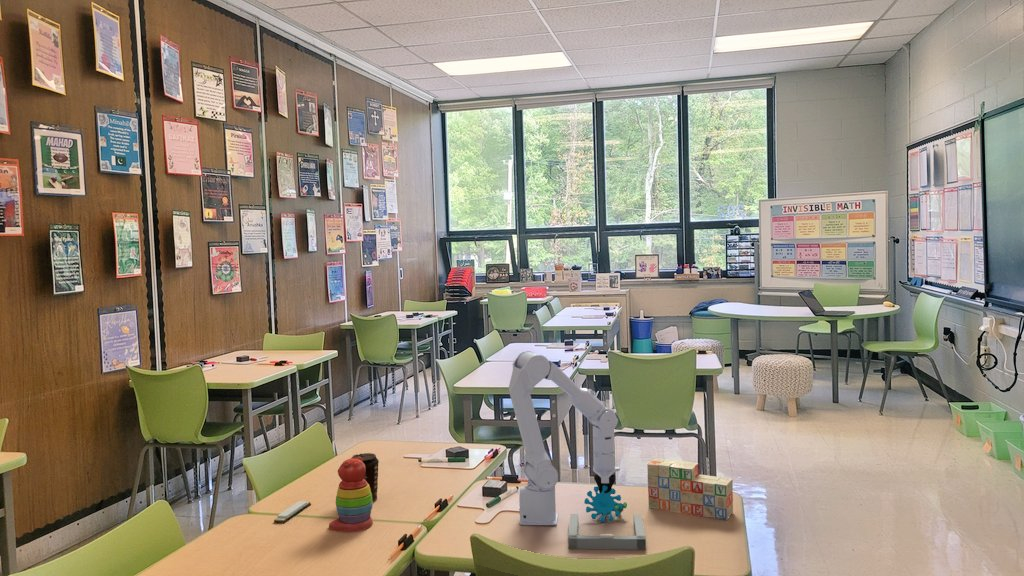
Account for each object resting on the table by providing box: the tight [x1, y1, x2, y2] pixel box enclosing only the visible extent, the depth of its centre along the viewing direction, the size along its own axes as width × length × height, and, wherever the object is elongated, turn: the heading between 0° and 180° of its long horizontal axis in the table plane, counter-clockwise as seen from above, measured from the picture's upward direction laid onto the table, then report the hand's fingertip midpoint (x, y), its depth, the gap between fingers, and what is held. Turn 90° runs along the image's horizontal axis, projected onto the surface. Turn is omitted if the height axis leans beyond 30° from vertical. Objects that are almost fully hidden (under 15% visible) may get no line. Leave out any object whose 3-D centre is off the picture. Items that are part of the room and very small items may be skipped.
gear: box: [583, 485, 628, 524], centre depth 193 cm, size 11×6×10 cm
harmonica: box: [273, 500, 312, 524], centre depth 203 cm, size 15×3×2 cm, turn 167°
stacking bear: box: [328, 457, 374, 533], centre depth 192 cm, size 11×10×18 cm
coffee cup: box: [351, 452, 380, 503], centre depth 211 cm, size 9×8×13 cm
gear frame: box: [567, 513, 647, 551], centre depth 180 cm, size 18×16×3 cm
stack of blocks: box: [646, 457, 734, 520], centre depth 196 cm, size 21×6×12 cm, turn 58°
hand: (605, 501), depth 198 cm, fingers closed
